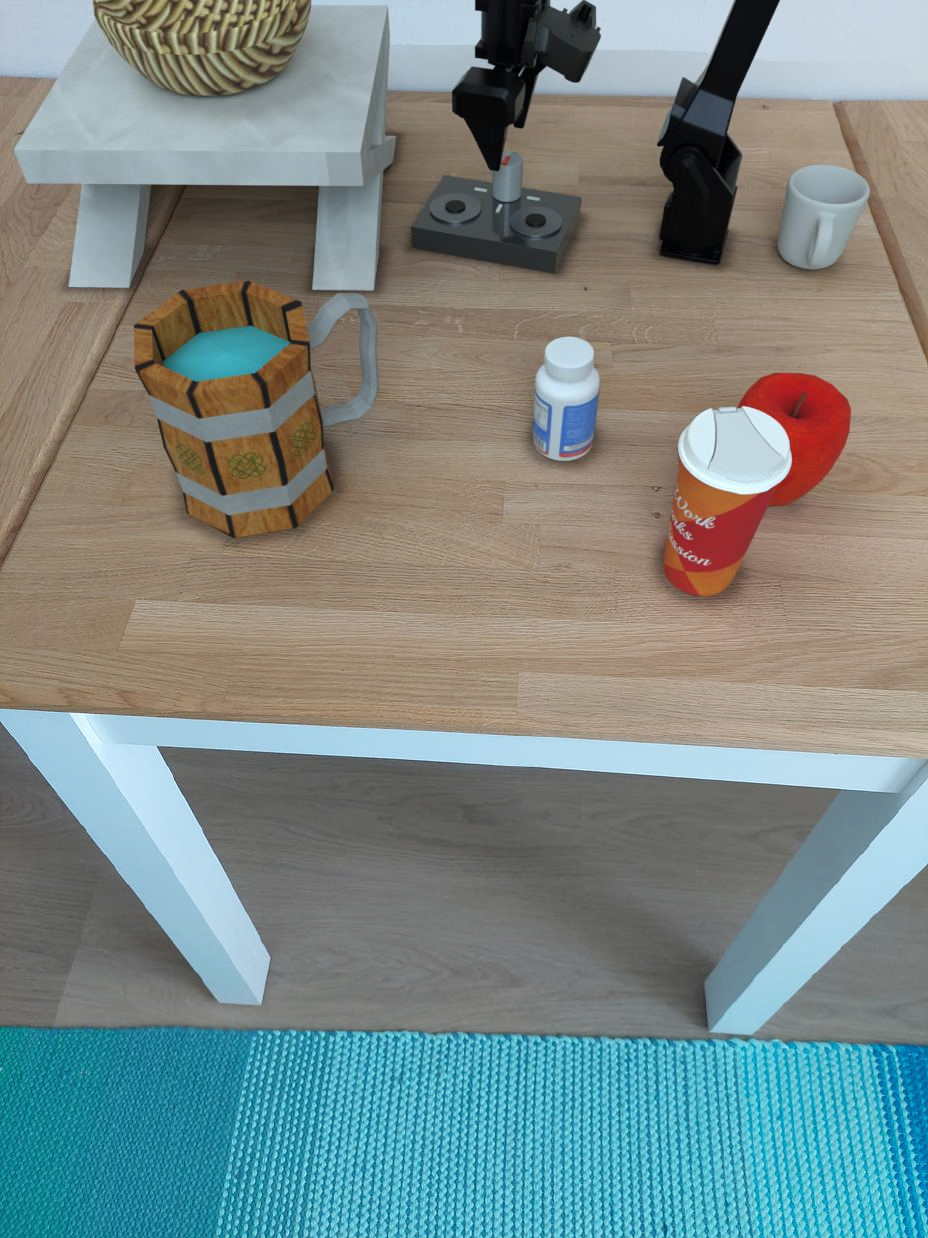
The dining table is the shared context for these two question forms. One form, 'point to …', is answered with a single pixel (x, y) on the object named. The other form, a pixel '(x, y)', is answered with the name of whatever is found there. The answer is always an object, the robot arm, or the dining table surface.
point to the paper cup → (722, 494)
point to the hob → (497, 227)
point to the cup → (820, 214)
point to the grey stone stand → (219, 122)
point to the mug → (247, 400)
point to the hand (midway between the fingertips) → (507, 148)
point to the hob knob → (508, 178)
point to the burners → (521, 221)
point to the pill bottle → (566, 400)
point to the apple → (803, 426)
